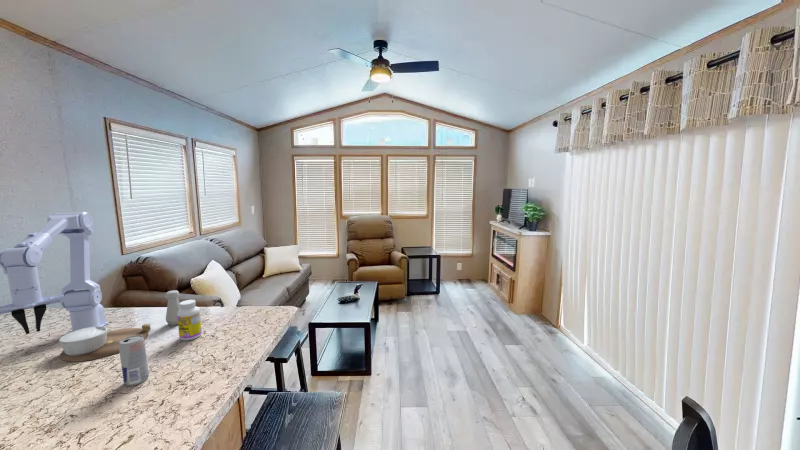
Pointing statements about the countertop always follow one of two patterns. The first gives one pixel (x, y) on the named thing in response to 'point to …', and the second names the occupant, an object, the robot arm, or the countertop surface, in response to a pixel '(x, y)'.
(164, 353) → the countertop surface
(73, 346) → the ramekin
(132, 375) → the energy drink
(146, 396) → the countertop surface
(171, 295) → the salt shaker
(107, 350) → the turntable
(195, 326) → the supplement bottle
